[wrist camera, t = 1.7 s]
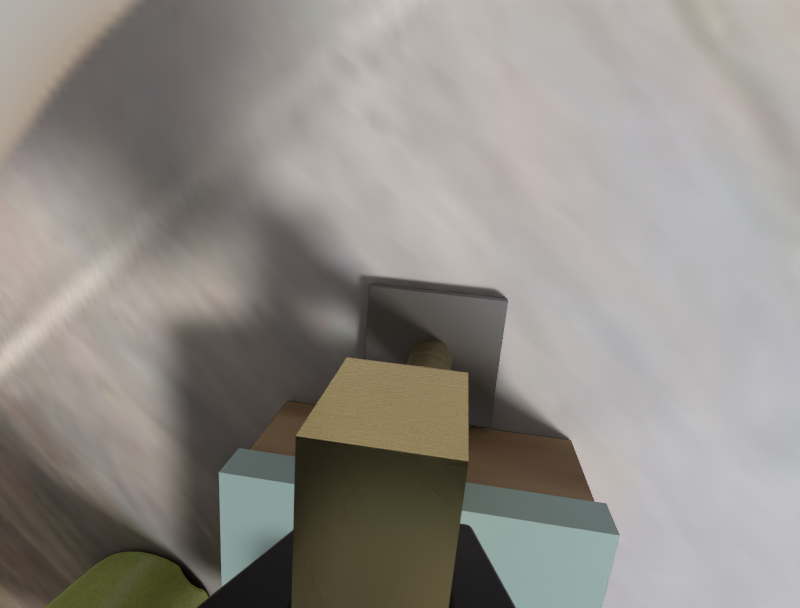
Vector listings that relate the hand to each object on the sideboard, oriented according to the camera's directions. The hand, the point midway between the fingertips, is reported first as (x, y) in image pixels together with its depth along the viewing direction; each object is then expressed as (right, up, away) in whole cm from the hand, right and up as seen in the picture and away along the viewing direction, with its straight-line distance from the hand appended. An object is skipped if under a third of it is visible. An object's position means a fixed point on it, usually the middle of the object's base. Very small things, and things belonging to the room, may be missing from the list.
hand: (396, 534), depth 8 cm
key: (+1, +2, +8) cm, 8 cm away
